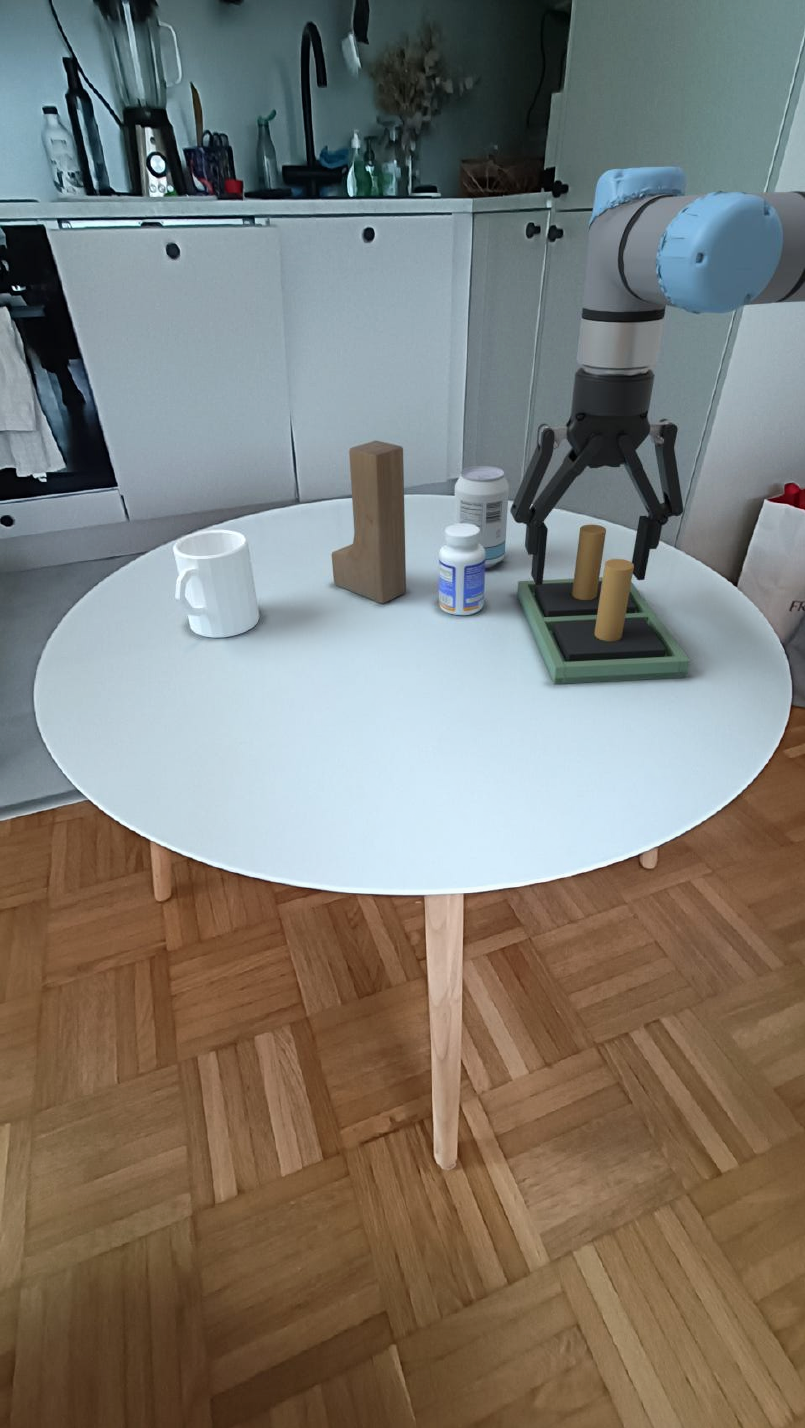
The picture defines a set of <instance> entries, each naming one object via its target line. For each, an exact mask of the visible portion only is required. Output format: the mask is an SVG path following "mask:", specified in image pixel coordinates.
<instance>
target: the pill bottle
mask: <svg viewBox="0 0 805 1428" xmlns="http://www.w3.org/2000/svg"><path fill="white" fill-rule="evenodd" d="M443 539H444V542H445V544H444V545H442V546H441V547H440V548H439V551H438V604H439V607H440V609H441V610H442V611H444V613H448V614H450V615H455V616H470V615H473V614H476V613H477V612H480V611H481V610H482V609H483V607H484V604H485V603H484V602H485V584H486V583H485V582H486V581H485V579H486V568H485V549H484V548H483V546H482V545H480V544H479V541H480V529H479V528H478V527H477V526H475V525H472V524H467V523H458V524H454V523H453V524H450V525H448V526H446V527H445V529H444V538H443Z"/></svg>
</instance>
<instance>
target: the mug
mask: <svg viewBox="0 0 805 1428" xmlns="http://www.w3.org/2000/svg"><path fill="white" fill-rule="evenodd" d="M172 549H173V550H172V551H173V554H174V559H175V564H176V568H177V573H178V577H177V579H176V584H175V594H174V599H175V601H176V603H177V604H178V605H179V607H180V608H181V610H182V612H183V613H184V615H186V616H187V618H188V622H189V627H190V629H191V631H193V632H194V634H196V635H199V636H201V637H206V638H214V639H216V638H217V639H219V638H228V637H234V636H237V635H241V634H243V633H246V632H248V631H249V630H251V629H253V628H254V627H255V626H256V625H257V624H258V622H259V619H260V611H259V604H258V598H257V591H256V584H255V578H254V572H253V566H252V560H251V552H250V547H249V541H248V538H247V536H245V535H244V534H242V533H241V532H238V531H234V530H229V529H228V530H227V529H210V530H203V531H198V532H194V533H190V534H188V535H186V536H183V537H182V538H180V539H179V540H177V541H176V542H175V543H174V545H173V546H172Z"/></svg>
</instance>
